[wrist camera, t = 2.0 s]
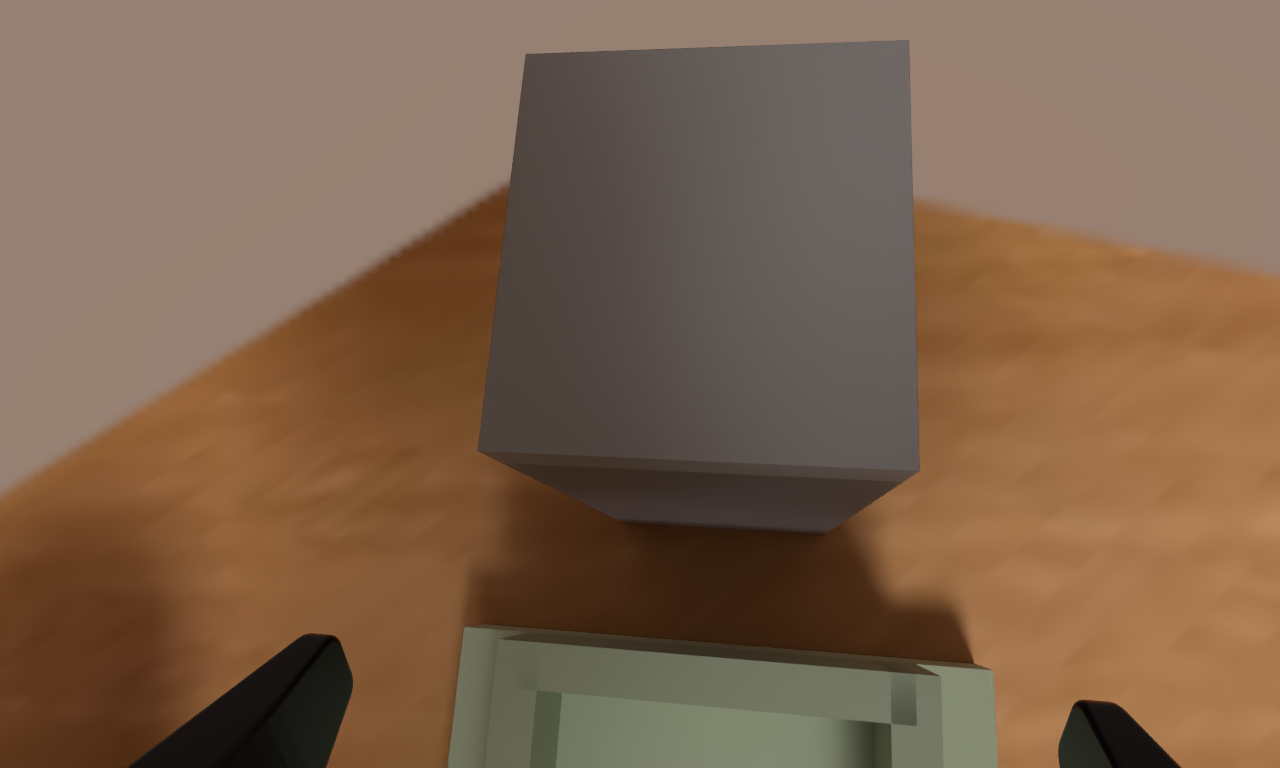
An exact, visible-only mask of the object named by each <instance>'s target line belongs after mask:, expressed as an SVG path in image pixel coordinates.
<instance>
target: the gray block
mask: <svg viewBox="0 0 1280 768" xmlns="http://www.w3.org/2000/svg"><path fill="white" fill-rule="evenodd" d="M911 142H912V141H911V101H910V59H909V40H899V41H872V42H846V43H845V42H844V43H817V44H791V45H790V44H789V45H764V46H738V47H737V46H735V47H708V48H683V49H654V50H630V51H629V50H626V51H599V52H575V53H574V52H571V53H546V54H545V53H544V54H526V58H525V65H524V74H523V82H522V91H521V99H520V106H519V115H518V123H517V131H516V140H515V148H514V156H513V164H512V172H511V181H510V189H509V197H508V205H507V214H506V222H505V230H504V238H503V246H502V255H501V263H500V271H499V279H498V288H497V296H496V304H495V312H494V321H493V329H492V337H491V345H490V354H489V362H488V370H487V378H486V387H485V395H484V403H483V411H482V420H481V428H480V436H479V444H478V451H479V452H481V453H483V454H485V455H487V456H489V457H491V458H493V459H495V460H497V461H499V462H501V463H503V464H505V465H507V466H509V467H511V468H513V469H515V470H517V471H519V472H521V473H523V474H525V475H527V476H529V477H532V478H534V479H536V480H538V481H540V482H542V483H544V484H546V485H548V486H550V487H552V488H554V489H556V490H558V491H560V492H562V493H564V494H566V495H568V496H570V497H572V498H574V499H576V500H578V501H580V502H582V503H584V504H586V505H588V506H590V507H592V508H594V509H596V510H598V511H600V512H602V513H604V514H606V515H608V516H610V517H612V518H615V519H617V520H619V521H621V522H623V523H630V524H647V525H665V526H682V527H699V528H716V529H733V530H750V531H767V532H784V533H801V534H818V535H824V534H826V533H827V532H829V531H830V530H832V529H833V528H835V527H836V526H838V525H839V524H841V523H842V522H844V521H845V520H847V519H848V518H850V517H851V516H853V515H854V514H856V513H857V512H859V511H860V510H862V509H863V508H865V507H866V506H868V505H869V504H871V503H872V502H874V501H875V500H877V499H878V498H880V497H881V496H883V495H884V494H886V493H887V492H889V491H890V490H892V489H893V488H895V487H896V486H898V485H899V484H901V483H902V482H904V481H905V480H907V479H908V478H910V477H911V476H913V475H914V474H916V473H917V472H919V471H920V470H919V429H918V388H917V347H916V306H915V265H914V223H913V184H912V143H911Z"/></svg>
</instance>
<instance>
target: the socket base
mask: <svg viewBox="0 0 1280 768" xmlns="http://www.w3.org/2000/svg"><path fill="white" fill-rule="evenodd" d="M447 768H998V761H997V739H996V717H995V695H994V673H993V670H991V669H988V668H985V667H982V666H979V665H977V664H969V663H957V662H945V661H932V660H920V659H908V658H895V657H883V656H871V655H858V654H846V653H834V652H821V651H809V650H797V649H784V648H772V647H760V646H747V645H735V644H723V643H711V642H698V641H686V640H674V639H661V638H649V637H637V636H624V635H612V634H600V633H587V632H575V631H563V630H550V629H538V628H526V627H513V626H501V625H489V624H481V625H474V626H467V627H464V632H463V640H462V649H461V657H460V666H459V674H458V683H457V691H456V700H455V708H454V716H453V725H452V733H451V742H450V750H449V759H448V767H447Z"/></svg>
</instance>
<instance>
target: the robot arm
mask: <svg viewBox="0 0 1280 768" xmlns="http://www.w3.org/2000/svg"><path fill="white" fill-rule="evenodd" d="M352 688H353V677H352V673H351V670H350V667H349V665H348V662H347V659H346V657H345V654H344V651H343V648H342V646H341V643H340V641H339V639H338V638H336V637H335V636H333V635H325V634H313V633H311V634H305V635H303V636H301V637H299V638H298V639H296V640H295V641H294V642H293V643H291V644H290V645H289V646H287V647H286V648H285V649H283V650H282V651H281V652H279V653H278V654H277V655H275V656H274V657H273V658H271V659H270V660H269V661H267V662H266V663H265V664H263V665H262V666H261V667H259V668H258V669H257V670H255V671H254V672H253V673H251V674H250V675H249V676H247V677H246V678H245V679H244V680H242V681H241V682H240V683H238V684H237V685H236V686H234V687H233V688H232V689H230V690H229V691H228V692H226V693H225V694H224V695H222V696H221V697H220V698H218V699H217V700H216V701H214V702H213V703H212V704H210V705H209V706H208V707H206V708H205V709H204V710H202V711H201V712H200V713H199V714H197V715H196V716H195V717H193V718H192V719H191V720H189V721H188V722H187V723H185V724H184V725H183V726H181V727H180V728H179V729H177V730H176V731H175V732H173V733H172V734H171V735H169V736H168V737H167V738H165V739H164V740H163V741H161V742H160V743H159V744H157V745H156V746H155V747H153V748H152V749H151V750H150V751H148V752H147V753H146V754H144V755H143V756H142V757H140V758H139V759H138V760H136V761H135V762H134V763H132V764H131V765H130V766H128V767H127V768H326V766H327V763H328V760H329V757H330V754H331V751H332V749H333V746H334V743H335V740H336V737H337V734H338V731H339V728H340V725H341V723H342V720H343V717H344V714H345V711H346V708H347V705H348V702H349V699H350V696H351V693H352ZM1058 757H1059V765H1060V768H1181V767H1180V766H1179V765H1178V764H1177V763H1176V762H1175V761H1174V760H1173V759H1172V758H1171V757H1170V756H1169V755H1168V754H1167V753H1166V752H1165V751H1164V750H1163V749H1162V748H1161V746H1160V745H1159V744H1158V743H1157V742H1156V741H1155V740H1154V739H1153V738H1152V737H1151V736H1150V735H1149V734H1148V733H1147V732H1146V731H1145V730H1144V729H1143V728H1142V727H1141V726H1140V725H1139V724H1138V723H1137V722H1136V721H1135V720H1134V719H1133V718H1132V717H1131V716H1130V715H1129V714H1128V713H1127V712H1126V711H1125V710H1124V709H1123V708H1122V707H1120V706H1119V705H1117V704H1115V703H1111V702H1104V701H1093V700H1079V701H1077V702H1076V703H1075V704H1074V705H1073V707H1072V710H1071V712H1070V715H1069V718H1068V720H1067V723H1066V726H1065V728H1064V731H1063V734H1062V737H1061V739H1060V743H1059V749H1058Z"/></svg>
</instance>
